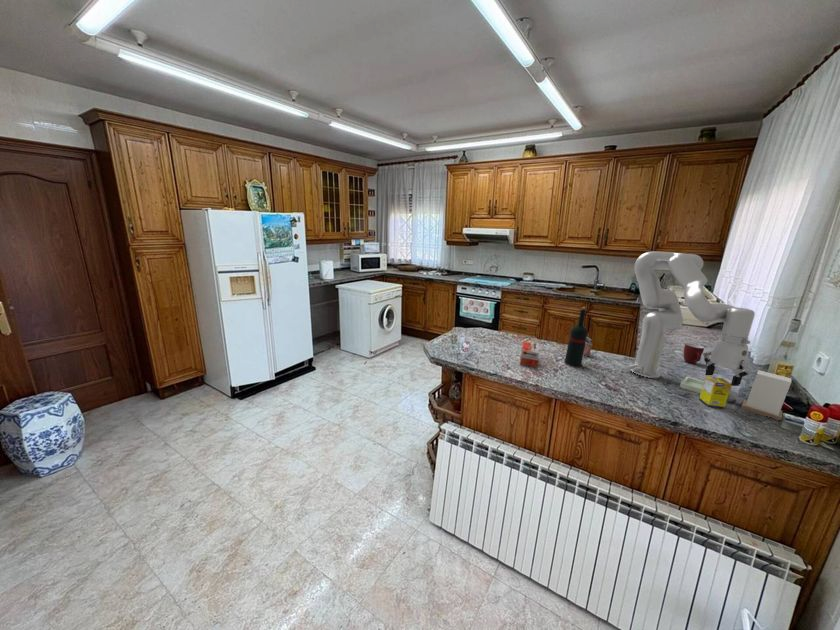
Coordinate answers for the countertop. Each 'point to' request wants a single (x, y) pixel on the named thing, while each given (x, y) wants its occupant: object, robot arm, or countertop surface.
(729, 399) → the steel bushing
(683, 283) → the robot arm
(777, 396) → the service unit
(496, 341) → the countertop surface
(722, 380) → the supplement box
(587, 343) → the lighter
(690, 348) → the mug
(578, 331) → the wine bottle
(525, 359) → the medicine box
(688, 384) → the parts tray
